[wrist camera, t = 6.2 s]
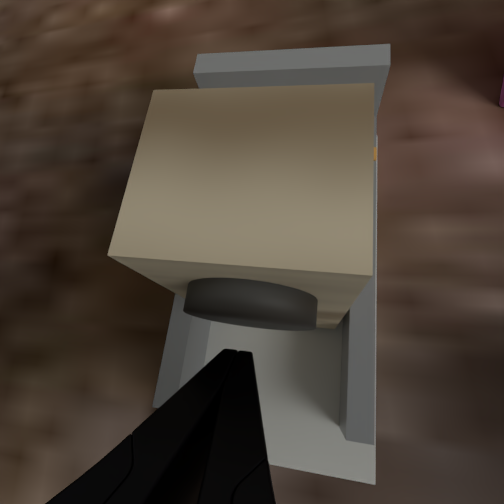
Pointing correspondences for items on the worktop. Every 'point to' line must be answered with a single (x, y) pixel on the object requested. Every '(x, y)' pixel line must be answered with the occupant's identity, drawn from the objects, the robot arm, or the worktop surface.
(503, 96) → the gum box
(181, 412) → the robot arm
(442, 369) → the worktop surface
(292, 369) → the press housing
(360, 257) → the beige cube with disc
